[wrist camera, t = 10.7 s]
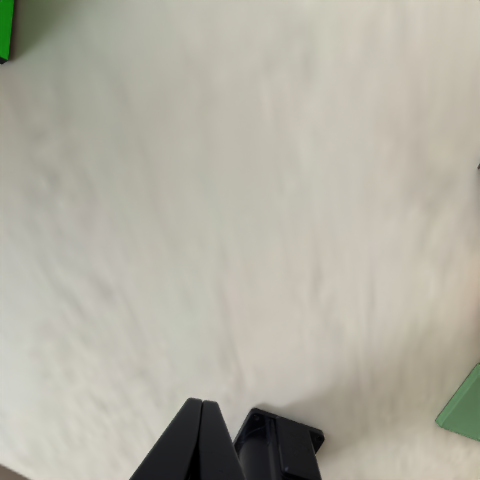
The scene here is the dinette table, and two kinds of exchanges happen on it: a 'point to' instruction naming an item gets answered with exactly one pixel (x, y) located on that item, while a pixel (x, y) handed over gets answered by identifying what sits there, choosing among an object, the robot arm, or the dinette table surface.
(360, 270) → the dinette table surface
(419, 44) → the dinette table surface
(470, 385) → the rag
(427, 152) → the dinette table surface
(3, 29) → the puzzle cube
